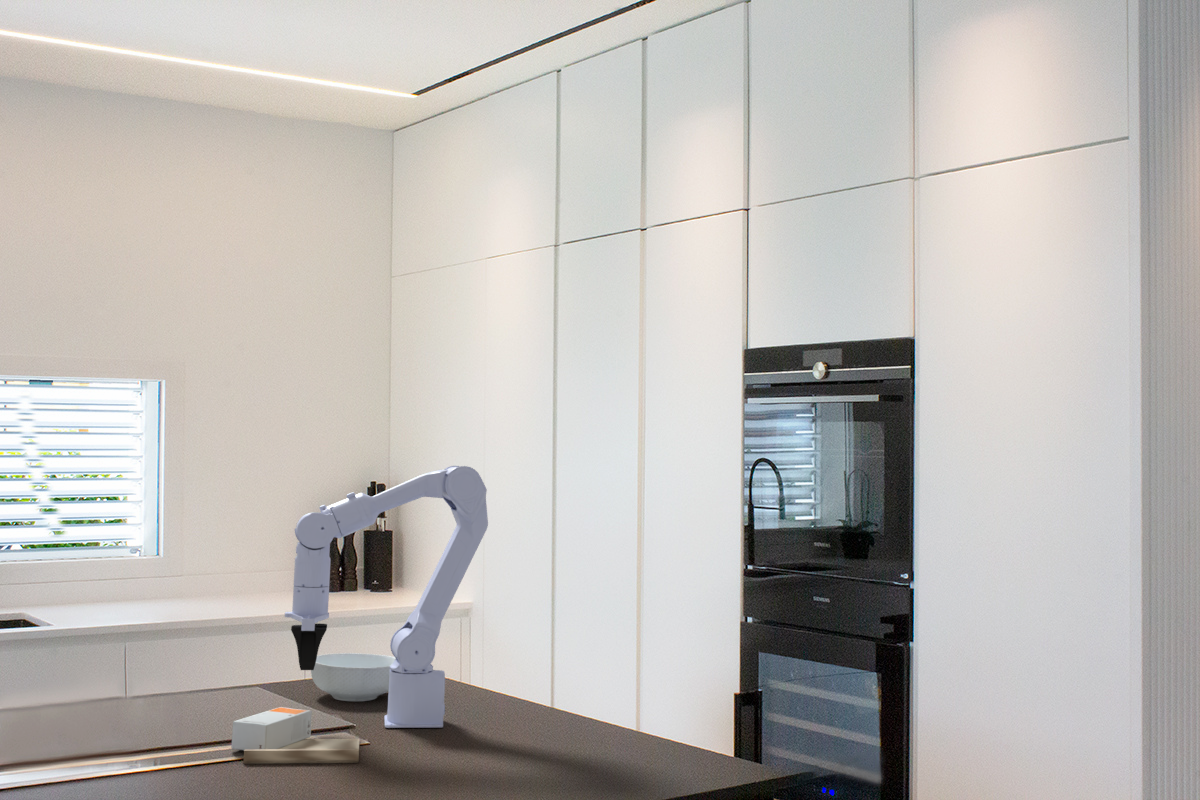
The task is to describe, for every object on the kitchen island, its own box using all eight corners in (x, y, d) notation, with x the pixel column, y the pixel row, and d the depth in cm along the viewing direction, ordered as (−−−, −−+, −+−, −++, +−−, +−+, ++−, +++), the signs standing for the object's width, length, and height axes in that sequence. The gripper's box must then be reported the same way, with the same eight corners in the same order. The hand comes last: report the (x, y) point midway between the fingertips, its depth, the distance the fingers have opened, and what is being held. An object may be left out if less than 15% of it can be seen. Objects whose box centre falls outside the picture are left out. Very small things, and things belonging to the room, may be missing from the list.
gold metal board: (359, 741, 180) (359, 729, 180) (358, 762, 167) (359, 750, 167) (252, 741, 176) (253, 729, 177) (243, 763, 164) (244, 750, 164)
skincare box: (312, 709, 179) (266, 725, 168) (311, 737, 179) (265, 754, 168) (279, 705, 181) (231, 720, 170) (278, 733, 181) (230, 750, 170)
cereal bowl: (391, 709, 205) (393, 668, 205) (298, 704, 205) (300, 664, 205) (408, 690, 221) (410, 653, 222) (322, 687, 222) (324, 649, 222)
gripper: (288, 580, 196) (284, 661, 195) (283, 590, 182) (279, 677, 181) (331, 581, 197) (327, 661, 197) (329, 590, 183) (325, 677, 182)
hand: (307, 669), depth 189 cm, fingers closed
